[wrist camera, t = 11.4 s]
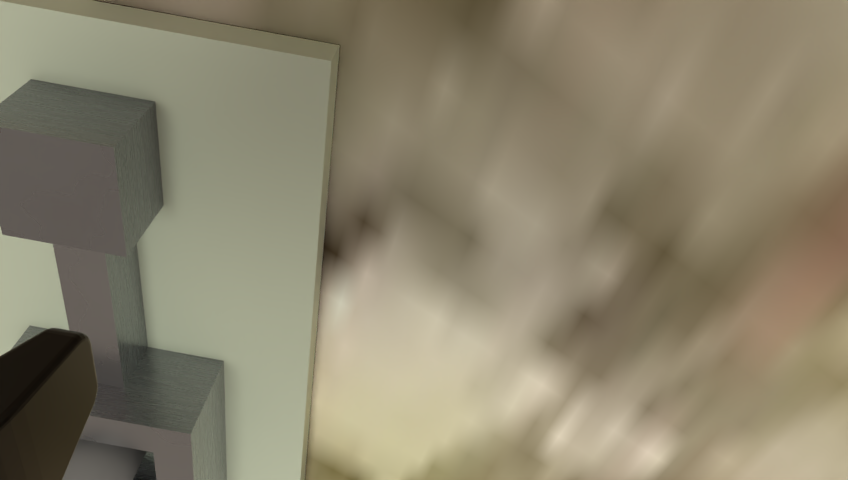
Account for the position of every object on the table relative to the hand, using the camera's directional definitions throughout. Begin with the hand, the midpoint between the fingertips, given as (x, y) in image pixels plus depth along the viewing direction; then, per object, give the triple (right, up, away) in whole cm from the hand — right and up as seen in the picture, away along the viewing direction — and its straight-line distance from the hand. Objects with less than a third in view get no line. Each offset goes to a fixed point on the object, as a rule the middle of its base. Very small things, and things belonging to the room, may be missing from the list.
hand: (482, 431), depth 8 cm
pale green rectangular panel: (-10, 0, +16) cm, 19 cm away
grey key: (-10, 0, +15) cm, 18 cm away
